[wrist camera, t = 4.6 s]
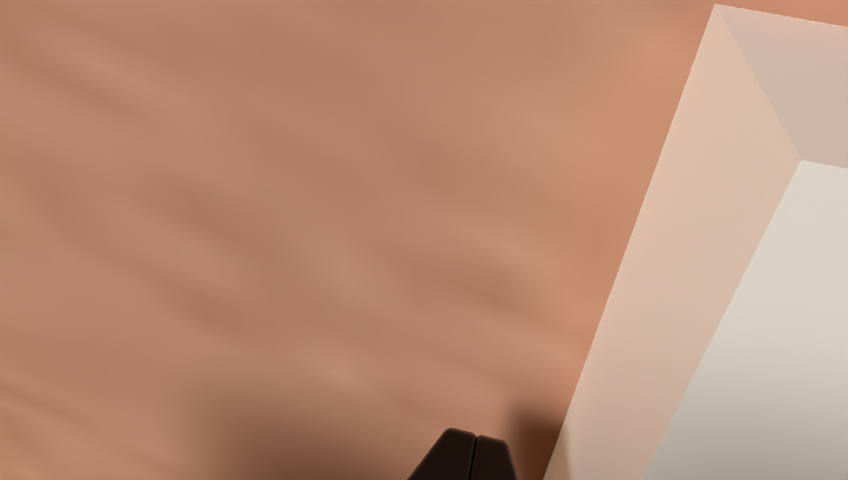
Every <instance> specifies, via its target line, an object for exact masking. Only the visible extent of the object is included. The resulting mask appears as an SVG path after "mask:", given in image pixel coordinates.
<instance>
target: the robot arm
mask: <svg viewBox="0 0 848 480" xmlns="http://www.w3.org/2000/svg"><path fill="white" fill-rule="evenodd" d="M407 480H518V478H517V474H516V471H515V468H514V464H513V461H512V457H511V454H510V450H509V447H508V445H507V444H506V442H505V441H503V440H499V439H495V438H491V437H487V436H483V435H480V436H477V437H476V435H475V434H473V433H471V432H467V431H463V430H459V429H455V428H448V429H447V430H445V431H444V432H443V434H442V435H441V436H440V438H439V439H438V440H437V442H436V443H435V444H434V445H433V447H432V448H431V449H430V451H429V452H428V453H427V455H426V456H425V457H424V458H423V460H422V461H421V462H420V464H419V465H418V466H417V468H416V469H415V470H414V472H413V473H412V474H411V475H410V477H409V478H408V479H407Z"/></svg>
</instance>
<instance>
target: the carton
mask: <svg viewBox="0 0 848 480" xmlns="http://www.w3.org/2000/svg"><path fill="white" fill-rule="evenodd" d="M543 480H848V27H844V26H838V25H833V24H827V23H821V22H816V21H810V20H804V19H799V18H793V17H787V16H782V15H776V14H770V13H765V12H759V11H754V10H748V9H742V8H737V7H731V6H725V5H720V4H715V5H714V8H713V11H712V13H711V16H710V19H709V22H708V24H707V27H706V30H705V33H704V35H703V38H702V41H701V44H700V46H699V49H698V52H697V55H696V58H695V60H694V63H693V66H692V69H691V71H690V74H689V77H688V80H687V82H686V85H685V88H684V91H683V94H682V96H681V99H680V102H679V105H678V107H677V110H676V113H675V116H674V118H673V121H672V124H671V127H670V130H669V132H668V135H667V138H666V141H665V143H664V146H663V149H662V152H661V154H660V157H659V160H658V163H657V165H656V168H655V171H654V174H653V177H652V179H651V182H650V185H649V188H648V190H647V193H646V196H645V199H644V201H643V204H642V207H641V210H640V213H639V215H638V218H637V221H636V224H635V226H634V229H633V232H632V235H631V237H630V240H629V243H628V246H627V249H626V251H625V254H624V257H623V260H622V262H621V265H620V268H619V271H618V273H617V276H616V279H615V282H614V284H613V287H612V290H611V293H610V296H609V298H608V301H607V304H606V307H605V309H604V312H603V315H602V318H601V320H600V323H599V326H598V329H597V332H596V334H595V337H594V340H593V343H592V345H591V348H590V351H589V354H588V356H587V359H586V362H585V365H584V368H583V370H582V373H581V376H580V379H579V381H578V384H577V387H576V390H575V392H574V395H573V398H572V401H571V403H570V406H569V409H568V412H567V415H566V417H565V420H564V423H563V426H562V428H561V431H560V434H559V437H558V439H557V442H556V445H555V448H554V451H553V453H552V456H551V459H550V462H549V464H548V467H547V470H546V473H545V475H544V478H543Z"/></svg>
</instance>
